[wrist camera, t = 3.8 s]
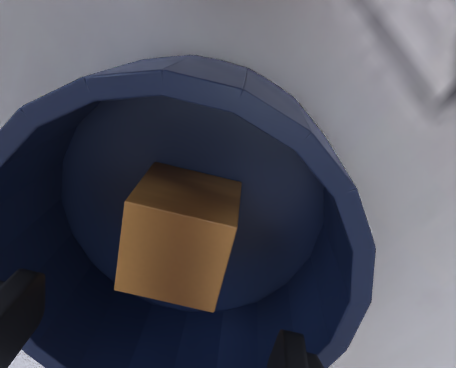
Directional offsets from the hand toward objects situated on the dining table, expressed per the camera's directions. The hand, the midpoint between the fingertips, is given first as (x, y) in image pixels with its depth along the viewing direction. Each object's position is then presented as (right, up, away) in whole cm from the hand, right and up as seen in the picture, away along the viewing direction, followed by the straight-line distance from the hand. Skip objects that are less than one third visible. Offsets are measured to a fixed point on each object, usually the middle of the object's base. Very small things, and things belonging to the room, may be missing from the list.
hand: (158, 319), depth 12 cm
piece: (0, +3, +7) cm, 8 cm away
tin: (0, +3, +8) cm, 8 cm away
